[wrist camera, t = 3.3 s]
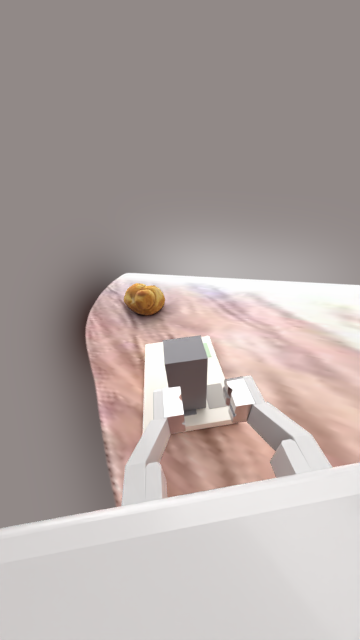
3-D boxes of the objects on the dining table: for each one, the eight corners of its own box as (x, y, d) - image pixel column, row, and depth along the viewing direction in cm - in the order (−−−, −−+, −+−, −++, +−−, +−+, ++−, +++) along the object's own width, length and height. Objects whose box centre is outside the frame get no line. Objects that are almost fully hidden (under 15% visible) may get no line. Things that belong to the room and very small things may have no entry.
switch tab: (170, 389, 31) (162, 340, 25) (200, 384, 31) (200, 335, 25) (172, 412, 28) (164, 364, 21) (205, 407, 28) (207, 358, 22)
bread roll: (118, 307, 56) (111, 283, 52) (143, 294, 62) (138, 271, 57) (147, 323, 49) (141, 296, 45) (172, 306, 55) (169, 281, 50)
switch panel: (146, 349, 42) (145, 344, 41) (208, 341, 43) (209, 335, 42) (144, 438, 27) (142, 433, 26) (238, 422, 28) (239, 417, 27)
